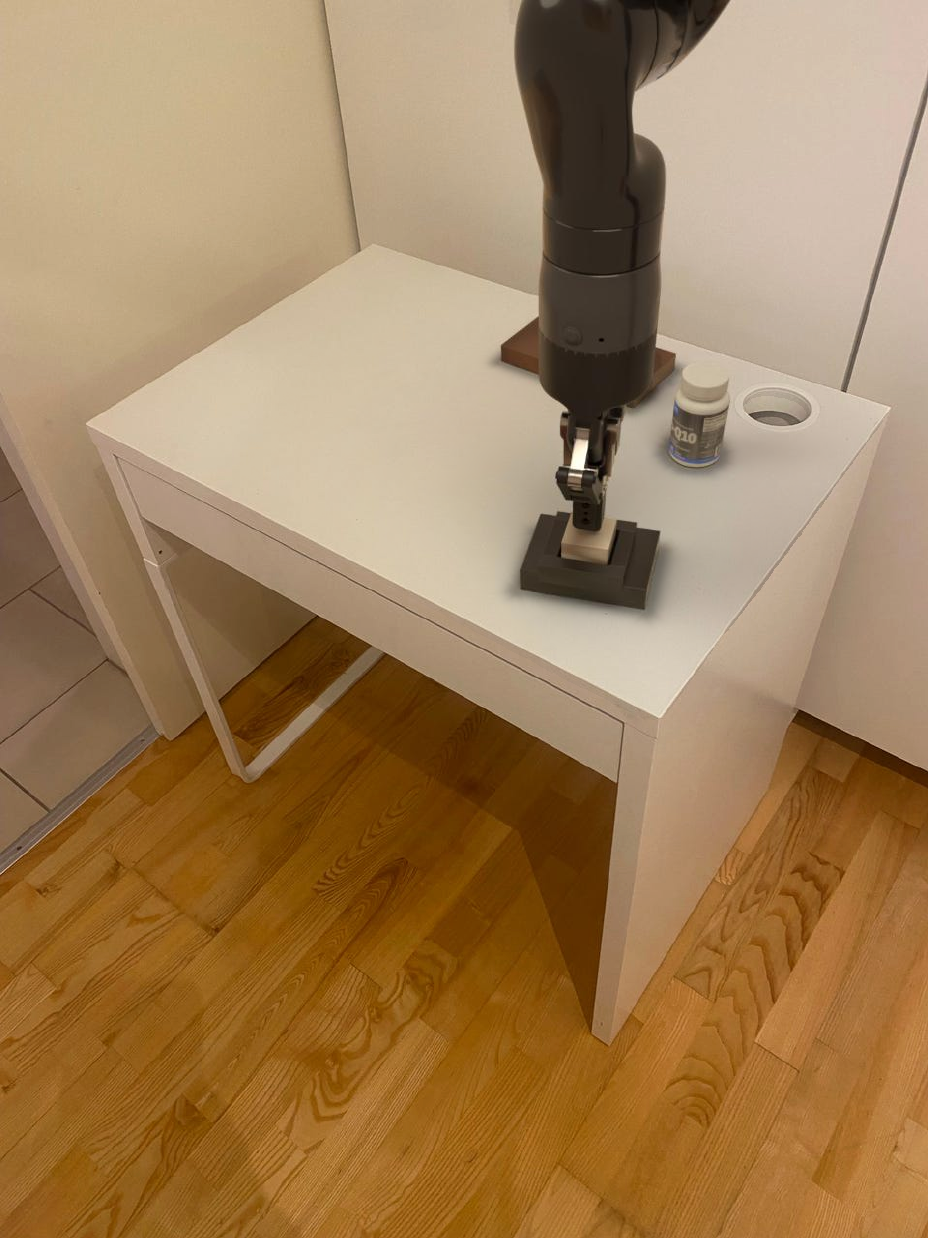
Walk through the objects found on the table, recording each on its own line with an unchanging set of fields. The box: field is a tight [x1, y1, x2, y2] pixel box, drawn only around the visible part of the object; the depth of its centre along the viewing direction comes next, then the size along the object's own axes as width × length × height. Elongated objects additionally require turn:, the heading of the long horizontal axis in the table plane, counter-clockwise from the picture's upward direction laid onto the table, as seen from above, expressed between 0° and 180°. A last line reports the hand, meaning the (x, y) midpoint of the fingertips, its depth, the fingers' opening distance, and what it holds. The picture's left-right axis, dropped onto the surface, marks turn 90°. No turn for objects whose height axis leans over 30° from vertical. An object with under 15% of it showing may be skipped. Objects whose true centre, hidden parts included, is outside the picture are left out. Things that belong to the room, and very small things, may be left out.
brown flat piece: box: [500, 315, 677, 409], centre depth 97 cm, size 17×9×4 cm, turn 52°
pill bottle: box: [668, 361, 731, 468], centre depth 85 cm, size 5×5×8 cm
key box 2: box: [519, 510, 661, 610], centre depth 76 cm, size 10×8×4 cm
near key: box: [561, 512, 618, 565], centre depth 74 cm, size 4×4×2 cm
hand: (588, 523), depth 73 cm, fingers closed
